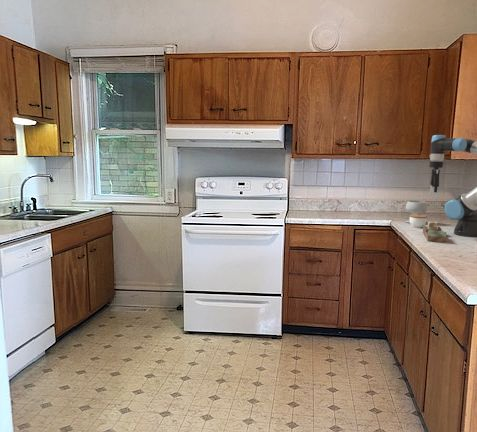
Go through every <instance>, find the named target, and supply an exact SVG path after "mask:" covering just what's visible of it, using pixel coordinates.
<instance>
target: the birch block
mask: <svg viewBox="0 0 477 432" xmlns="http://www.w3.org/2000/svg"><path fill="white" fill-rule="evenodd" d="M427 228H428V230H435V231H437V229H438V222H437V221H430V220H429V221H427Z"/></svg>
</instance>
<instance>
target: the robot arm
mask: <svg viewBox="0 0 477 432" xmlns="http://www.w3.org/2000/svg"><path fill="white" fill-rule="evenodd" d="M445 152H458V153H459V152H464V153H468V154H472V155H477V140H474V139H470V138H463V137H455V138H453V137H451V138H448V137H447V136H446V135H444V134H435V135H432V137H431V143H430V154H429V156H428V157H429V160H430V161H429V165H428V166H429V168H432V169H431V176H430V187H429V188H430V189H429V197H431V198H432V199H433V198H434V199H437V198H438V195H439V186H440V173H441V170H440V169H441V168H443V167H444V159H445ZM439 168H440V169H439ZM444 213H445V215H446V217H447V218H449V219H451V220H454V221H457V223H456V225H455V226H454V229H453V234H454V235H458V236H460V237H461V236H462V237H469V238H470V237H471V238H477V186H476V187H475V188H473V189H471V190H470V191H468V192H467V193H462V194H460V195H458V196H457V197H456V198H454V199H451V200H449V201H447V202H446V203H445V205H444Z"/></svg>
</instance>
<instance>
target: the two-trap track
mask: <svg viewBox="0 0 477 432" xmlns="http://www.w3.org/2000/svg"><path fill="white" fill-rule="evenodd" d="M422 234H423V235H424V237H425V239H426V241H427V242H431V243H432V242H434V243H444V242H445V243H446V240H447V231H444V230H442V228H441V226H438V225H437V231H435V230H428V226H426V224H425V225H423V227H422Z"/></svg>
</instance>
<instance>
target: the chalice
mask: <svg viewBox="0 0 477 432" xmlns="http://www.w3.org/2000/svg"><path fill="white" fill-rule="evenodd" d="M405 210H406V211H407V212H408V213H409V214H410V215H411V214H418V213H419V215H423V214H424V213H426V212H427V211H428V204H427V202H426V201H423V200H407V202H406V204H405ZM405 223H409V224H410V219H408V220H406V221H405Z"/></svg>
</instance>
